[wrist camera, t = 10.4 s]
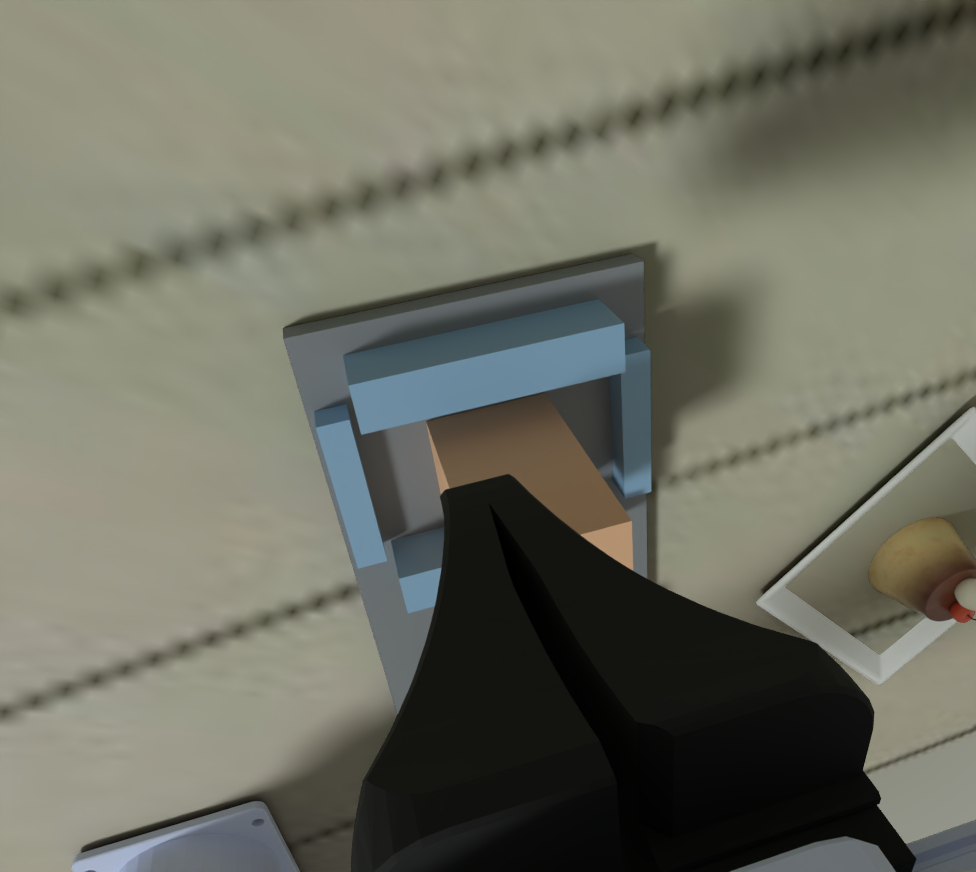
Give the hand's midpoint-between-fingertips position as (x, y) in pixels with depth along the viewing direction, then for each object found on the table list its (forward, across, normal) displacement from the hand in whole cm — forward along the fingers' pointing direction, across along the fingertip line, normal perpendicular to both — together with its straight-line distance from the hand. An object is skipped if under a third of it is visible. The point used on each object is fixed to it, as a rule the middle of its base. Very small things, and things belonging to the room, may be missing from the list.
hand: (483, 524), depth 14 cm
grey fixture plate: (+10, -2, +12) cm, 16 cm away
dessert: (+11, -21, +17) cm, 29 cm away
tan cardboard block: (+10, -2, +5) cm, 11 cm away
